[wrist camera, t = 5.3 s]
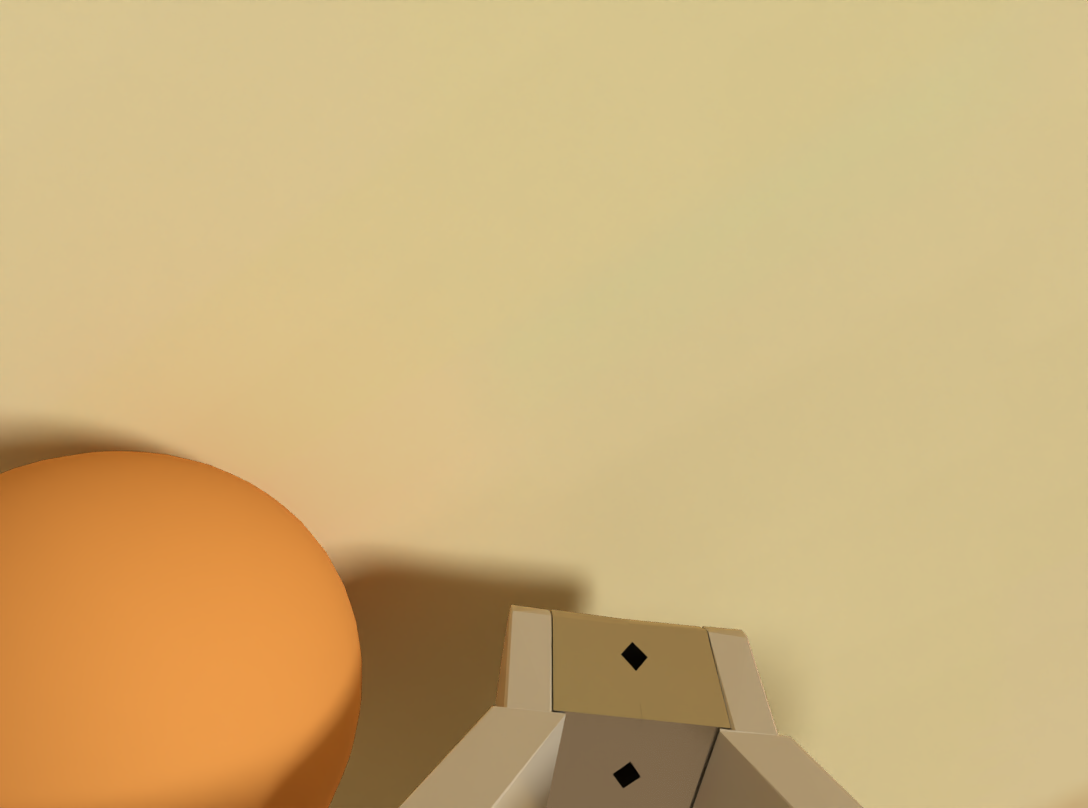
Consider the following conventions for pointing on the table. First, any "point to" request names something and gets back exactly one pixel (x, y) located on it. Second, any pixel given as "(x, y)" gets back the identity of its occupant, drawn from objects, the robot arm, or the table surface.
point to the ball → (167, 641)
